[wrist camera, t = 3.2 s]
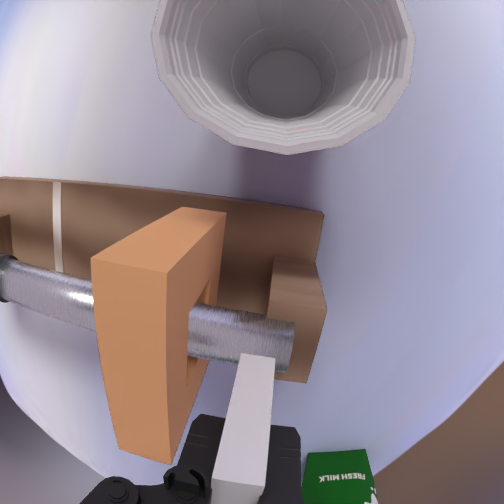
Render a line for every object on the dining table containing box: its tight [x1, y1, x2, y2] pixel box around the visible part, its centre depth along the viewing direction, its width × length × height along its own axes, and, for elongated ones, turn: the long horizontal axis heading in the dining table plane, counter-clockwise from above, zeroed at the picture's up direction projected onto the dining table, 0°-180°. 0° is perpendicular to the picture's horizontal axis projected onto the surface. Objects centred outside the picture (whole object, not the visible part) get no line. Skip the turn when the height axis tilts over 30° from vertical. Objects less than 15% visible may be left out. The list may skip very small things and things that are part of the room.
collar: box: [91, 207, 226, 465], centre depth 17 cm, size 11×3×11 cm, turn 172°
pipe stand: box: [0, 177, 327, 383], centre depth 22 cm, size 12×32×9 cm, turn 82°
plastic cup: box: [151, 0, 415, 155], centre depth 15 cm, size 11×11×12 cm
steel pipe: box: [0, 252, 295, 373], centre depth 17 cm, size 4×29×4 cm, turn 82°
